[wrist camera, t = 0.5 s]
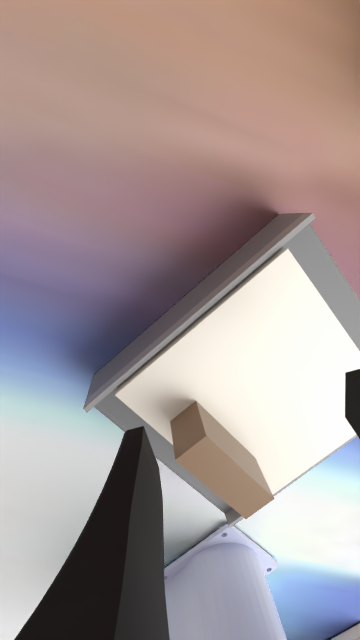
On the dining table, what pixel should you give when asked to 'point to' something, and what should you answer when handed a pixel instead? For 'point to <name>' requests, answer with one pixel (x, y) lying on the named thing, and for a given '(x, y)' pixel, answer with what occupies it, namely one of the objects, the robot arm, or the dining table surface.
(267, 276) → the cover
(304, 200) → the dining table surface
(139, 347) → the box
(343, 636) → the coffeecake box
